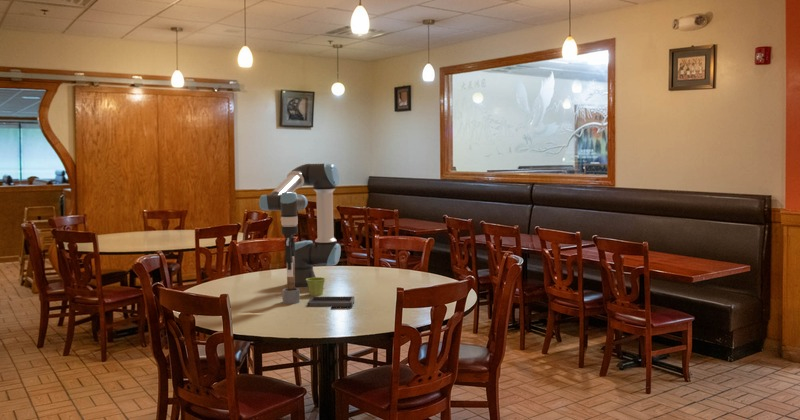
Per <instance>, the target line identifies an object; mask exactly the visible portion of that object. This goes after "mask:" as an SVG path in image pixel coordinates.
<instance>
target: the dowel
mask: <svg viewBox="0 0 800 420" xmlns="http://www.w3.org/2000/svg"><path fill="white" fill-rule="evenodd" d="M292 263H293V277H287V276H286V288H287V291H293V290H295V288H296V286H295V263H294V256H292Z"/></svg>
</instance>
